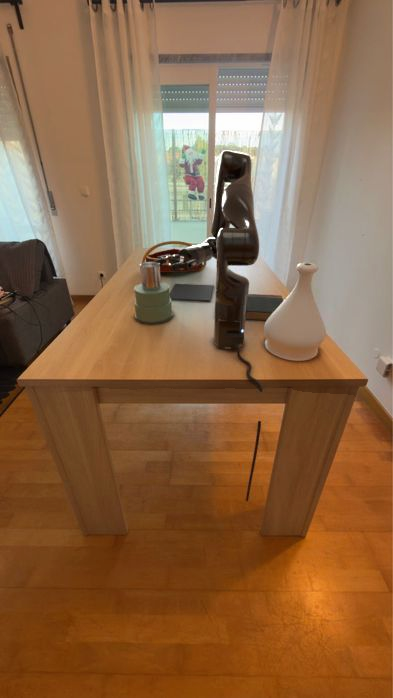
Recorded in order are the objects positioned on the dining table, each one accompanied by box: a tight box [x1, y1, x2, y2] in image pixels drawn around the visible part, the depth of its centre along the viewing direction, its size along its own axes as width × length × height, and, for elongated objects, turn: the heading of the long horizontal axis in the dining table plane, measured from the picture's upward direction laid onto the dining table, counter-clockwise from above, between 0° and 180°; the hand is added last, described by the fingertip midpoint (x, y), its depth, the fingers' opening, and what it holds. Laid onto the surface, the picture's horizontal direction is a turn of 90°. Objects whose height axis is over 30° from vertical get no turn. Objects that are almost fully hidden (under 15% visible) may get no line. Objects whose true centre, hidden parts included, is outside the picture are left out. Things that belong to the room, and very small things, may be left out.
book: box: [246, 293, 284, 322], centre depth 108 cm, size 17×4×25 cm
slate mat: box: [169, 283, 215, 303], centre depth 124 cm, size 18×18×1 cm
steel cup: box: [139, 261, 162, 291], centre depth 96 cm, size 7×7×8 cm
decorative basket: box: [141, 240, 207, 273], centre depth 149 cm, size 34×29×15 cm
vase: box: [263, 262, 327, 362], centre depth 80 cm, size 17×17×25 cm
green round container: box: [133, 281, 174, 325], centre depth 101 cm, size 14×14×11 cm
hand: (163, 266), depth 99 cm, fingers open, 8 cm apart
